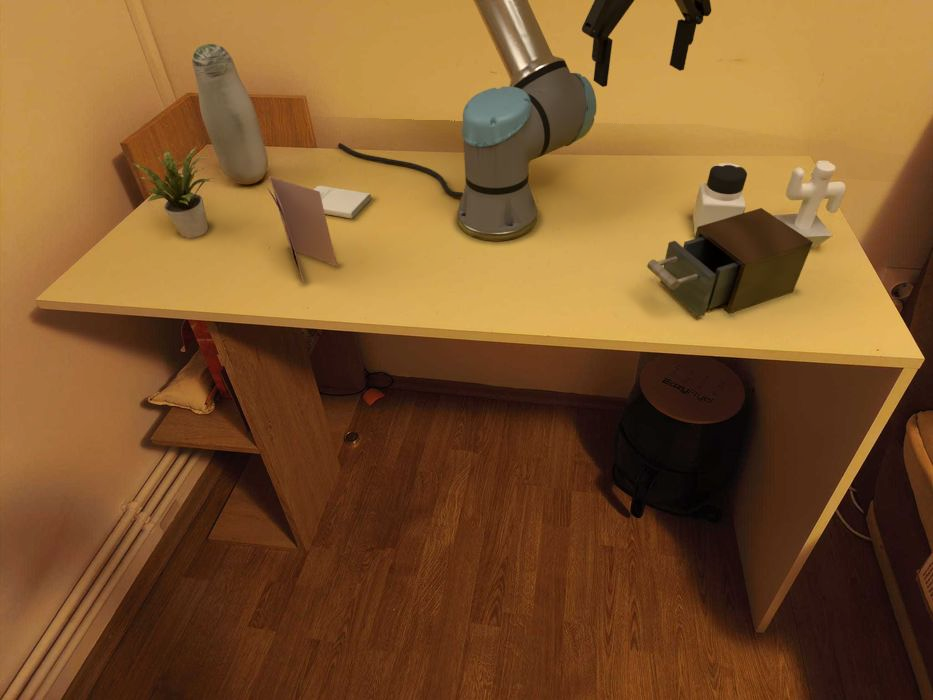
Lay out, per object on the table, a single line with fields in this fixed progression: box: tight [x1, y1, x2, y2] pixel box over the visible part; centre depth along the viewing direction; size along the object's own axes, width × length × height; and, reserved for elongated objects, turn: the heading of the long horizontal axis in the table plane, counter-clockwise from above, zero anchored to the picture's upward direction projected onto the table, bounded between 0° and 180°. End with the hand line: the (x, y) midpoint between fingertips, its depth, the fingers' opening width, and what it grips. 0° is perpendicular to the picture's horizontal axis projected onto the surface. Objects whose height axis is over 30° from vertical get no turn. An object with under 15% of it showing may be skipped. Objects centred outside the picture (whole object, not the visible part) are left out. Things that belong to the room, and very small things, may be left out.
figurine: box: [773, 159, 847, 250], centre depth 104 cm, size 7×9×15 cm
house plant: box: [130, 145, 214, 239], centre depth 115 cm, size 14×14×16 cm
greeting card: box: [267, 176, 338, 283], centre depth 107 cm, size 11×7×15 cm, turn 23°
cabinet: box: [694, 207, 813, 314], centre depth 98 cm, size 13×11×10 cm
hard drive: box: [312, 184, 372, 220], centre depth 125 cm, size 2×8×12 cm
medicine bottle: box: [692, 162, 748, 236], centre depth 109 cm, size 7×7×12 cm
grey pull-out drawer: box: [646, 236, 741, 318], centre depth 96 cm, size 16×10×8 cm, turn 112°
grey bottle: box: [192, 43, 269, 185], centre depth 126 cm, size 10×10×28 cm
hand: (638, 75), depth 94 cm, fingers open, 13 cm apart
